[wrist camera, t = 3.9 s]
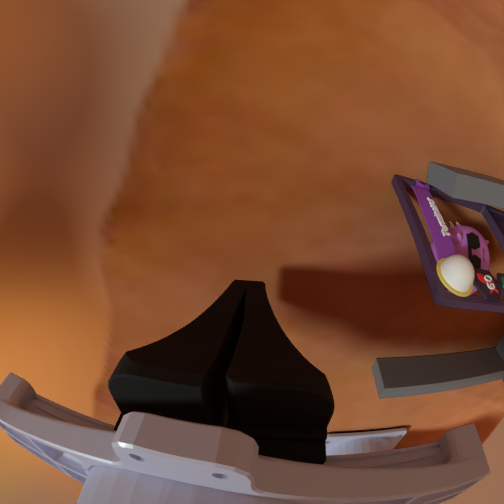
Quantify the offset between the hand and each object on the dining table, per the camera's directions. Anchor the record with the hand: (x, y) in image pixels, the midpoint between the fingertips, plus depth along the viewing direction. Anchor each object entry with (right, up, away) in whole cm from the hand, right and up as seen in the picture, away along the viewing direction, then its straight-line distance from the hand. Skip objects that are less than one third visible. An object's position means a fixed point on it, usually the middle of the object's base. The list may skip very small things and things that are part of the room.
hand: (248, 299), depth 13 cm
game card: (+11, +3, 0) cm, 11 cm away
